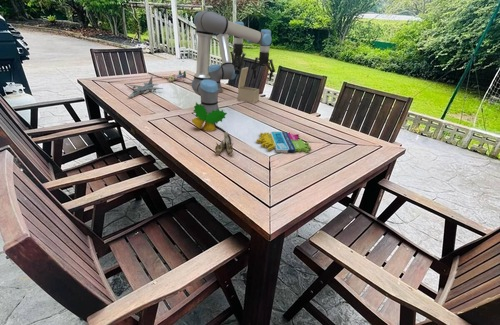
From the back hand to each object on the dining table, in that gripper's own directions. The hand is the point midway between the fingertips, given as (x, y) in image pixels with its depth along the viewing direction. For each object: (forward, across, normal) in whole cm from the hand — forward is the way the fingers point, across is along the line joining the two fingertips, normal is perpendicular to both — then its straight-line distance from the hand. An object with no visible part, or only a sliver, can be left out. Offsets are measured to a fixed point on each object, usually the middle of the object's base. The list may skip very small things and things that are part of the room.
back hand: (237, 74), depth 220 cm
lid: (+2, -6, 0) cm, 7 cm away
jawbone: (+20, -45, +95) cm, 107 cm away
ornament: (+20, -21, +73) cm, 78 cm away
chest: (+20, -12, 0) cm, 24 cm away
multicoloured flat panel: (+20, -67, +67) cm, 97 cm away
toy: (+21, +84, -22) cm, 89 cm away
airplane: (+20, +71, +36) cm, 83 cm away
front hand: (+1, -23, 0) cm, 23 cm away
